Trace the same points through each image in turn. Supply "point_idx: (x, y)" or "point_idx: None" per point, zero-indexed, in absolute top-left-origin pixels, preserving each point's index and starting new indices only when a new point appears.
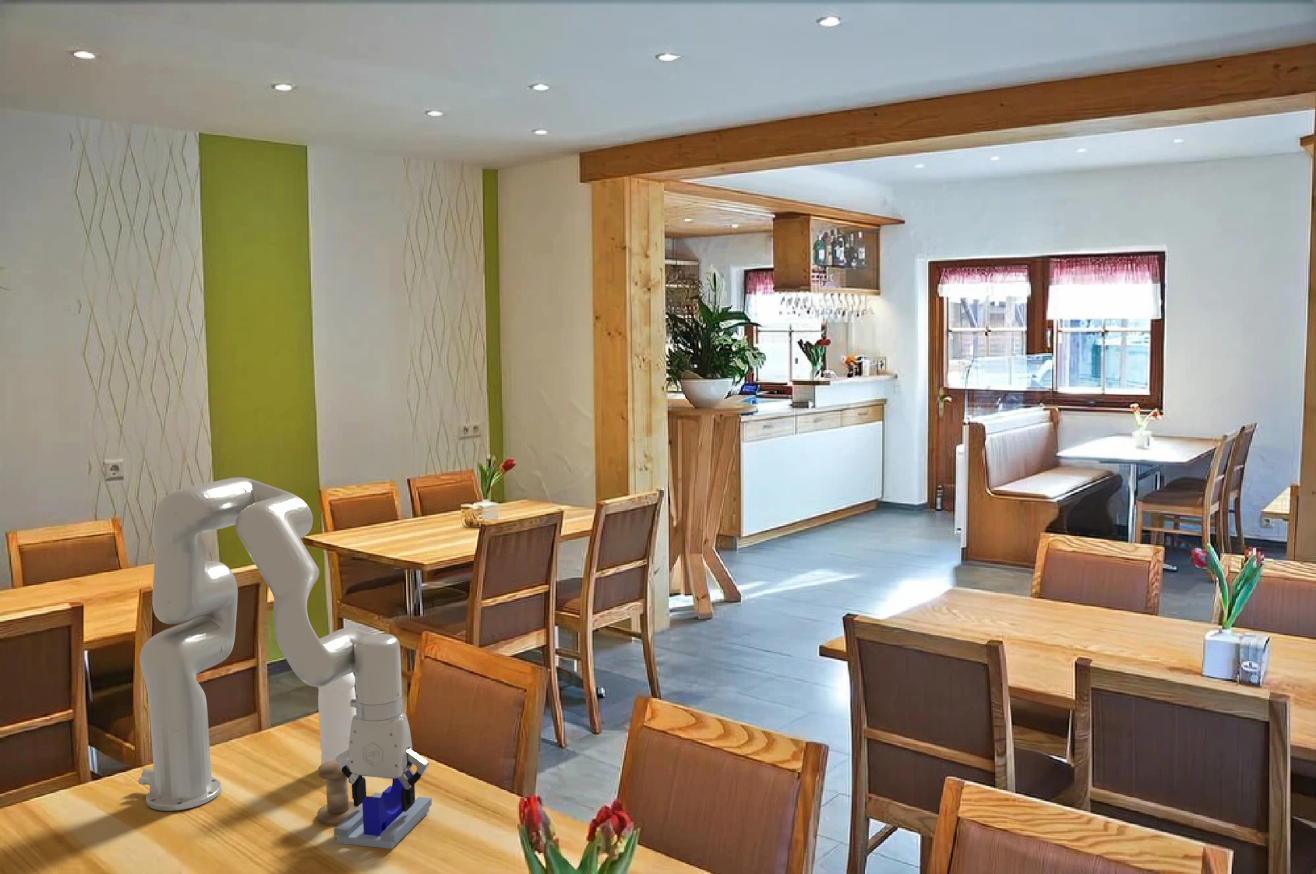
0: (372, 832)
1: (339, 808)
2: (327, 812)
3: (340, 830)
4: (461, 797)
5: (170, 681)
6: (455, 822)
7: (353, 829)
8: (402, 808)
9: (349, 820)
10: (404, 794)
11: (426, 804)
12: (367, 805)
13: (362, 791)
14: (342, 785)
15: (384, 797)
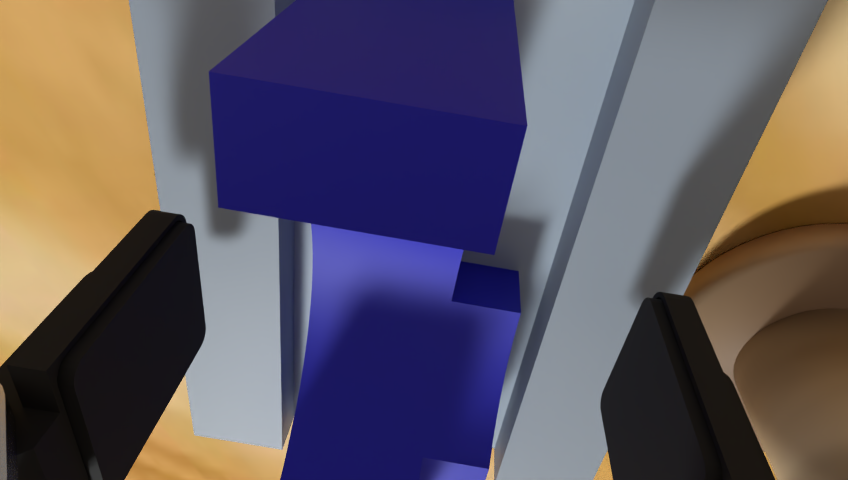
0: None
1: (813, 348)
2: None
3: None
4: (162, 473)
5: None
6: (19, 264)
7: (628, 39)
8: (164, 226)
9: (695, 144)
10: (49, 324)
11: (189, 379)
12: (437, 82)
13: (636, 443)
14: None
15: (464, 424)
